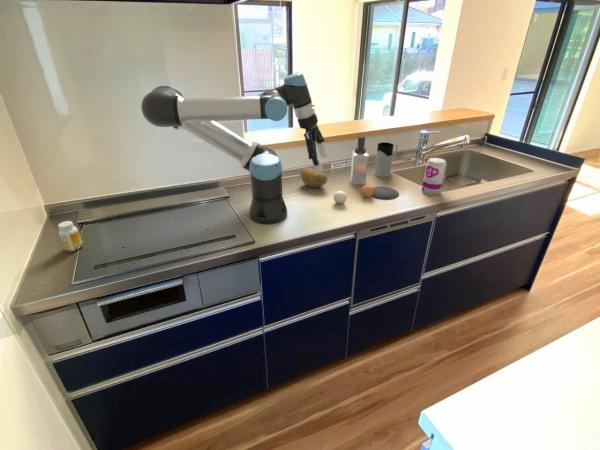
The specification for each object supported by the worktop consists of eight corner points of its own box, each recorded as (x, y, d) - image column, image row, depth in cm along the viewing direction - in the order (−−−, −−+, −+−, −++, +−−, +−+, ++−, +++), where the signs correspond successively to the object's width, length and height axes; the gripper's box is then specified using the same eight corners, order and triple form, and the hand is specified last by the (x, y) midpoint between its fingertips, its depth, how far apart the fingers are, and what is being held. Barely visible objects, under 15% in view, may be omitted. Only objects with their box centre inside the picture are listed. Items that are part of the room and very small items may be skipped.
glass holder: (369, 173, 177) (372, 144, 169) (387, 166, 184) (390, 139, 177) (383, 178, 171) (387, 148, 163) (400, 171, 179) (405, 142, 171)
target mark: (380, 202, 147) (380, 201, 147) (361, 190, 158) (361, 189, 158) (405, 195, 152) (405, 195, 152) (385, 184, 163) (385, 184, 163)
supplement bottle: (64, 254, 114) (54, 229, 110) (66, 245, 119) (56, 221, 114) (82, 250, 116) (73, 225, 111) (84, 242, 121) (75, 218, 116)
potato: (319, 193, 155) (319, 177, 151) (296, 185, 163) (295, 169, 159) (332, 187, 161) (332, 171, 157) (309, 179, 170) (309, 164, 166)
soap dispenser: (363, 177, 171) (367, 133, 160) (365, 184, 164) (369, 138, 153) (350, 177, 172) (353, 133, 161) (351, 184, 164) (355, 138, 153)
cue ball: (337, 207, 143) (338, 195, 140) (330, 202, 147) (331, 190, 145) (348, 204, 145) (349, 192, 143) (341, 199, 150) (342, 187, 147)
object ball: (365, 200, 149) (366, 188, 146) (357, 195, 153) (358, 184, 150) (375, 198, 151) (376, 186, 148) (367, 193, 155) (369, 182, 152)
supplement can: (433, 197, 151) (440, 164, 144) (417, 191, 157) (423, 159, 149) (444, 192, 155) (451, 160, 148) (428, 186, 161) (434, 156, 153)
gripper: (309, 124, 122) (326, 176, 133) (320, 102, 142) (334, 149, 153) (290, 129, 125) (308, 180, 136) (303, 107, 144) (318, 153, 155)
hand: (322, 164), depth 144 cm, fingers open, 13 cm apart
